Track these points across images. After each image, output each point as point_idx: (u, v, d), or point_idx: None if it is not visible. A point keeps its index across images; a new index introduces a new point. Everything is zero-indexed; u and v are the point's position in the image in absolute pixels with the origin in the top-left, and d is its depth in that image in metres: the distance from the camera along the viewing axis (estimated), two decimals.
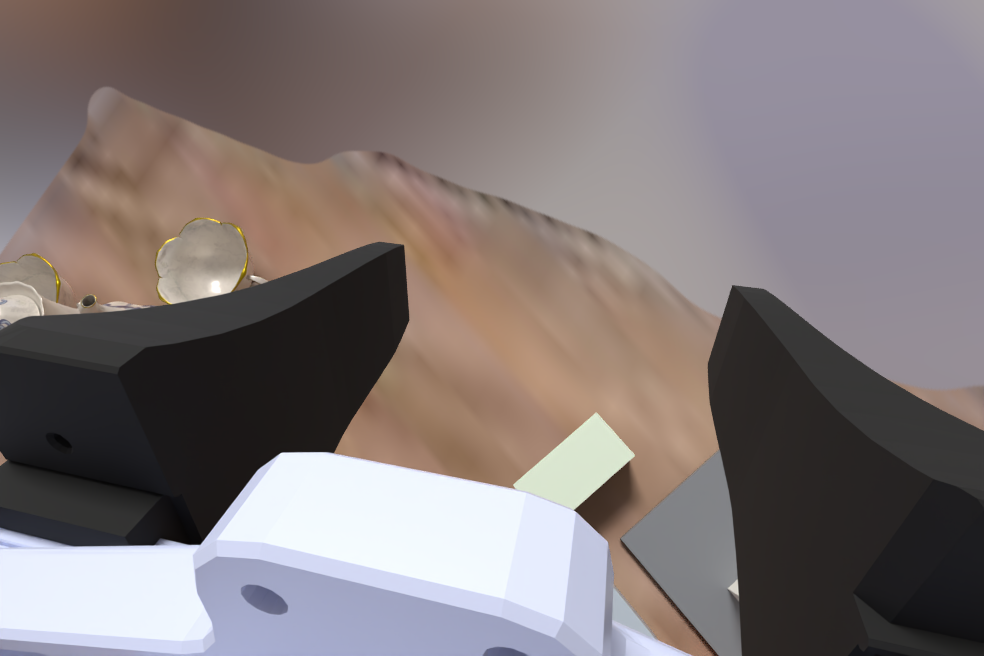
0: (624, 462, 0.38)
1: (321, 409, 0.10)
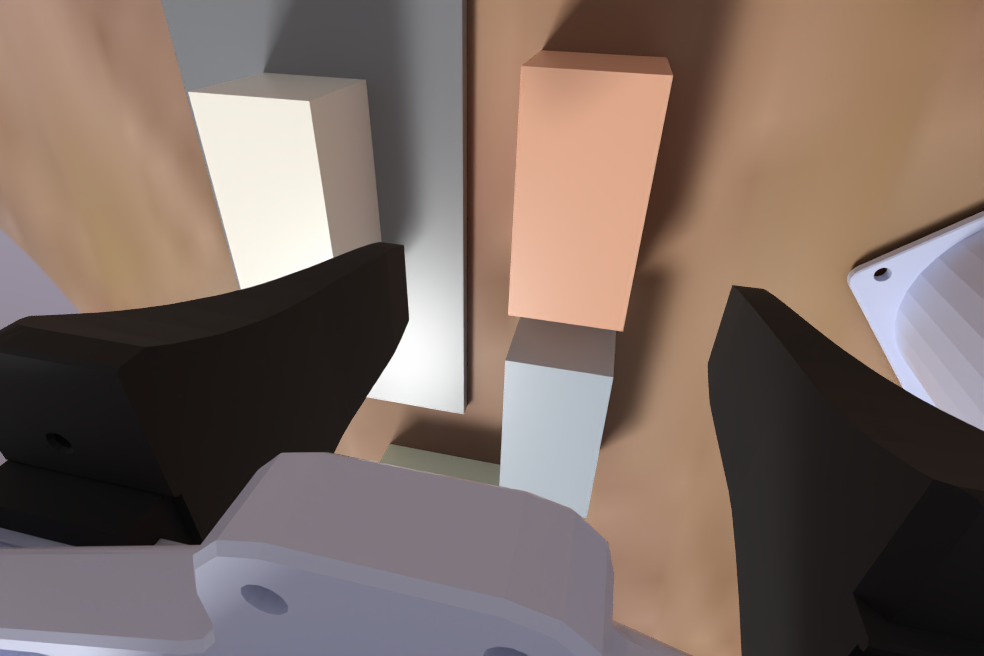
0: None
1: (321, 409, 0.10)
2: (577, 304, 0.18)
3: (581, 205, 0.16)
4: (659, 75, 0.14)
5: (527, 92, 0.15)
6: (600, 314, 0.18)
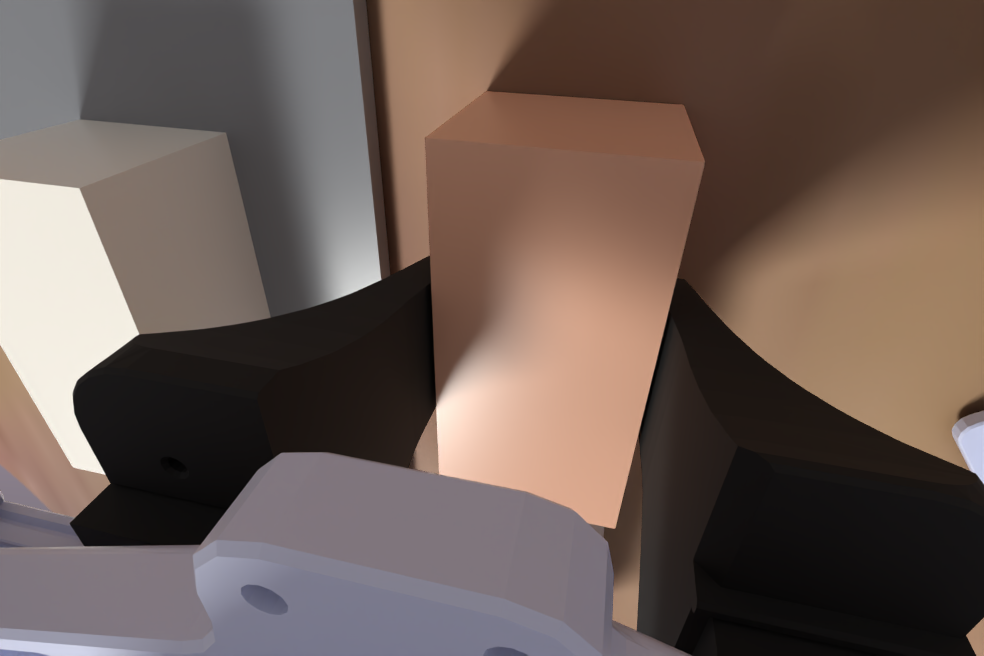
0: None
1: (401, 423, 0.09)
2: (544, 489, 0.12)
3: (544, 358, 0.10)
4: (679, 161, 0.07)
5: (440, 182, 0.08)
6: (579, 504, 0.12)
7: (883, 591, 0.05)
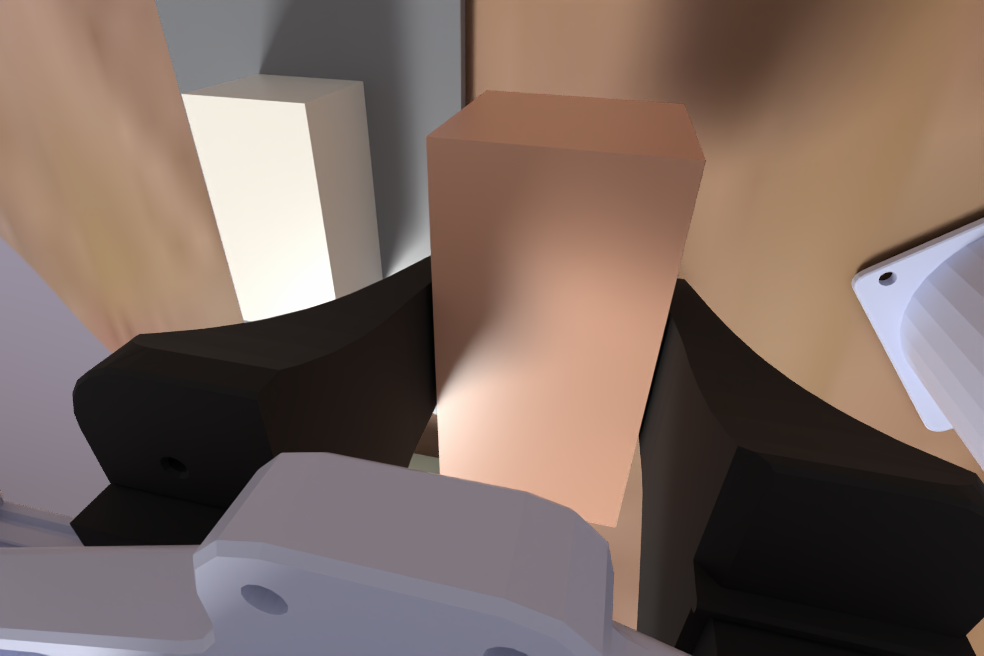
0: None
1: (401, 423, 0.09)
2: (545, 488, 0.12)
3: (545, 357, 0.10)
4: (679, 160, 0.07)
5: (441, 181, 0.08)
6: (580, 503, 0.12)
7: (883, 591, 0.05)
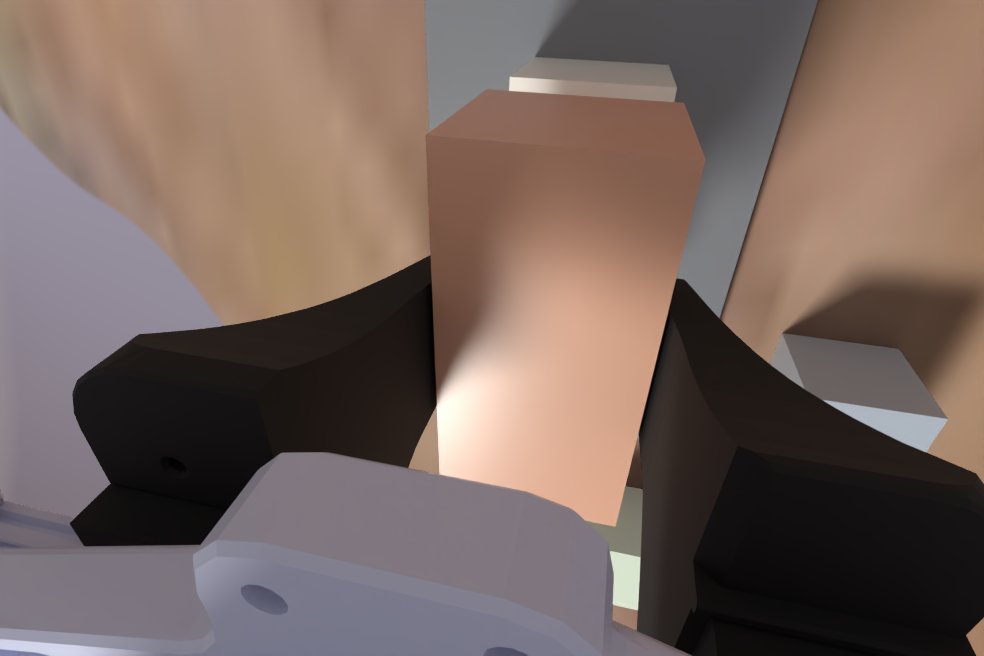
0: None
1: (401, 424, 0.09)
2: (544, 487, 0.12)
3: (545, 356, 0.10)
4: (679, 158, 0.07)
5: (440, 179, 0.08)
6: (580, 502, 0.12)
7: (883, 591, 0.05)
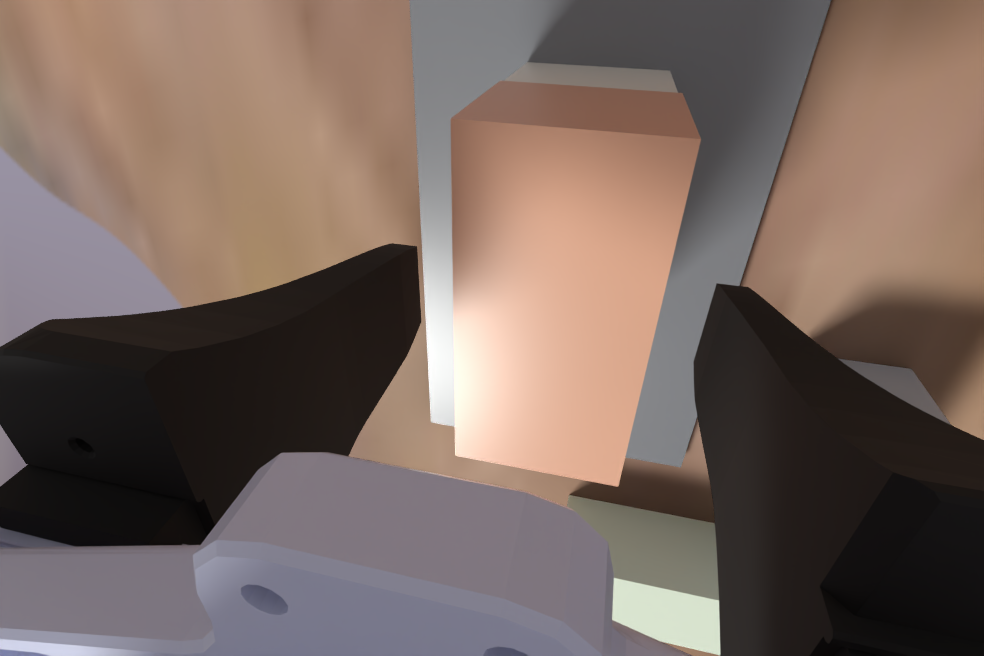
0: None
1: (337, 412, 0.10)
2: (553, 449, 0.12)
3: (555, 323, 0.11)
4: (677, 138, 0.08)
5: (463, 159, 0.09)
6: (585, 464, 0.12)
7: None
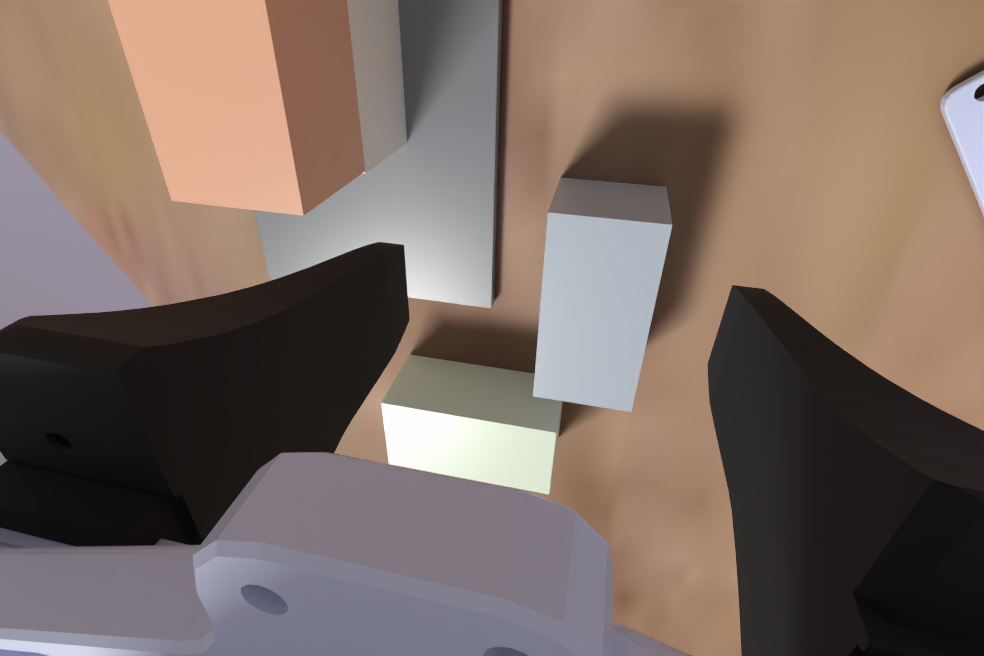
0: (400, 408, 0.24)
1: (321, 409, 0.10)
2: (241, 179, 0.14)
3: (194, 28, 0.12)
4: None
5: None
6: (270, 192, 0.14)
7: None
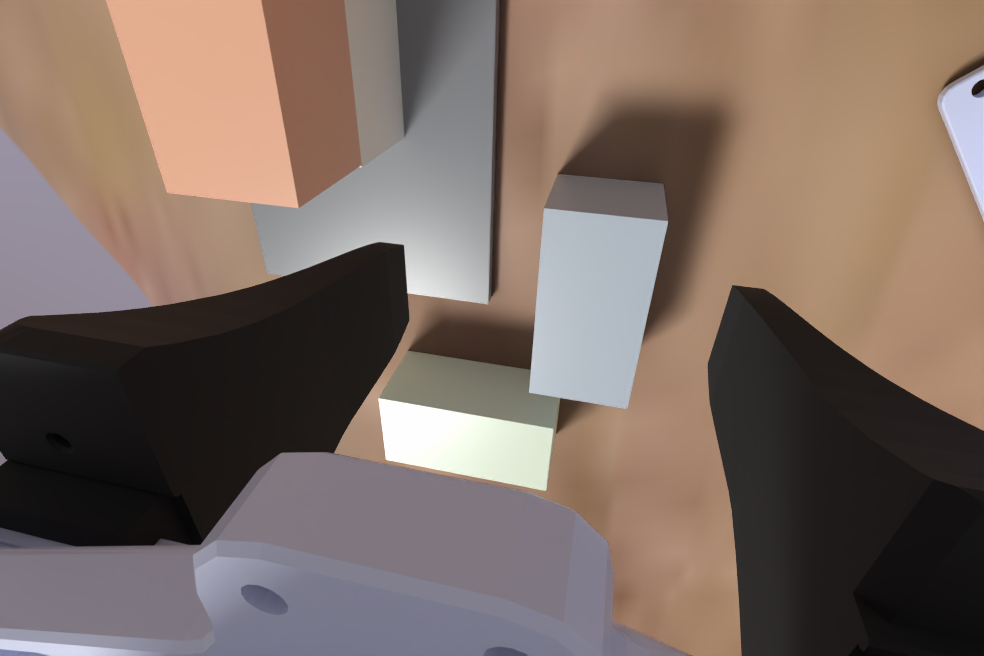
0: (397, 403, 0.24)
1: (321, 409, 0.10)
2: (236, 171, 0.14)
3: (189, 18, 0.12)
4: None
5: None
6: (266, 184, 0.14)
7: None
